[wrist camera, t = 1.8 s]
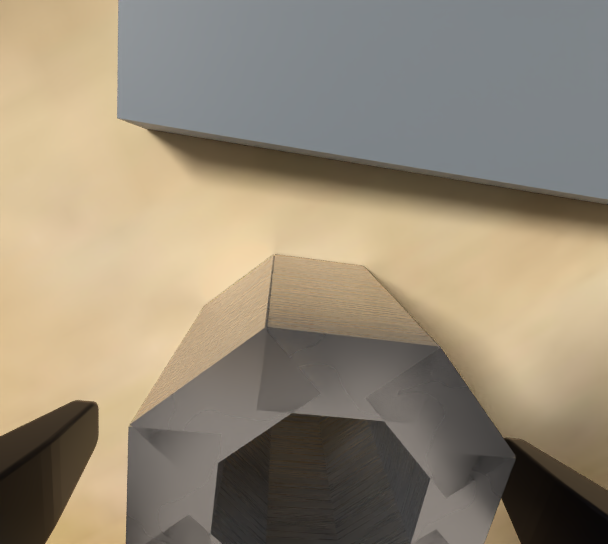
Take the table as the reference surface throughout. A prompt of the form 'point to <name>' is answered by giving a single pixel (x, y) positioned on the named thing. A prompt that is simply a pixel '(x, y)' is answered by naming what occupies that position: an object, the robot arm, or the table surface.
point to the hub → (311, 423)
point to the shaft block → (383, 83)
